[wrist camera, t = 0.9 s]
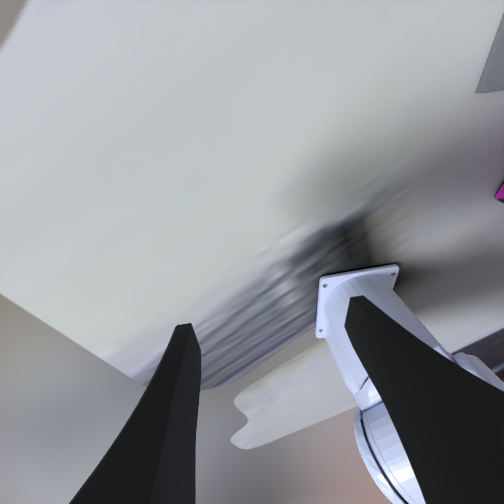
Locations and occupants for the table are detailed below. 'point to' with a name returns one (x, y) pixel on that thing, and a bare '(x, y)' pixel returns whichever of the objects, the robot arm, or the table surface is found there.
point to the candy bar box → (500, 194)
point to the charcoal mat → (494, 65)
